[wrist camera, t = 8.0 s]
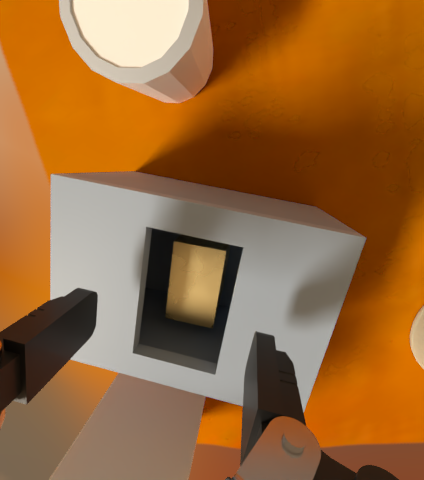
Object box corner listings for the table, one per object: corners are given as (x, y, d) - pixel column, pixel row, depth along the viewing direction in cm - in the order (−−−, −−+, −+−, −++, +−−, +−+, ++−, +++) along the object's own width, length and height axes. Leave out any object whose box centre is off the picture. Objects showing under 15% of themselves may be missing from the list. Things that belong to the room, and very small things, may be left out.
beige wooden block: (233, 229, 20) (226, 251, 15) (222, 288, 21) (212, 328, 16) (194, 222, 20) (174, 241, 15) (186, 281, 22) (165, 317, 16)
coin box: (316, 206, 19) (366, 238, 11) (281, 323, 22) (300, 422, 14) (134, 171, 21) (51, 174, 12) (124, 286, 24) (50, 354, 15)
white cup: (160, -27, 17) (101, -151, 10) (243, 42, 17) (237, -35, 11) (108, 73, 19) (31, 22, 12) (184, 133, 19) (148, 115, 13)
